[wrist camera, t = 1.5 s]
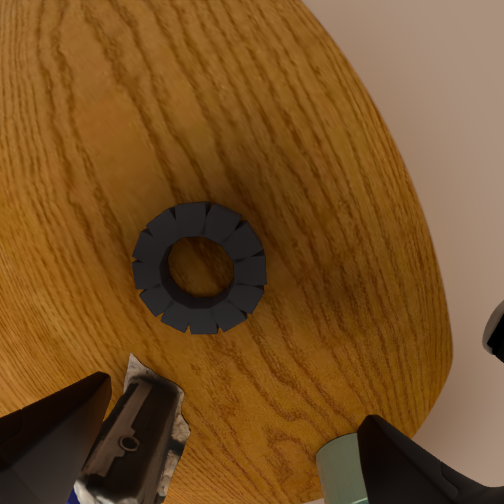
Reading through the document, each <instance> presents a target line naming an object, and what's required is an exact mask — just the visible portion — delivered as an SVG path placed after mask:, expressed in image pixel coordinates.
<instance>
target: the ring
mask: <svg viewBox="0 0 504 504" xmlns="http://www.w3.org/2000/svg"><path fill="white" fill-rule="evenodd" d="M240 218H241V215H240V214H238V213H236V212H234V211H232V210H230V209H228V208H226V207H224V206H222V205H220V204H218V203H215V204H213V205H212V206H211V208H210V202H209V201H205V202H193V203H182V204H179V205H176V206H175V207H171V208H168V209H166V210H165V211H164V212H162V213H161V214H160V215H158V216H157V217H156V218H154V219H153V220H152V221H151V222H149V223H148V224H147V225H146V226H147V229H145V230H143V231H141V233H140V236H139V239H138V241H137V244H136V247H135V249H134V252H133V255H132V257H134V258H136V259H137V260H135V261H134V262H133V263H132V268H133V274H134V280H135V286H136V289H144V290H143V292H142V293H141V294H140V295H139V297H140V298H141V299H142V301H143V302H144V303H145V305H146V306H147V307H148V308H149V310H150V311H151V312H152V314H153V315H154V316H155V317H156V316H158V315H159V314H161V313H163V312H164V313H163V316H162V318H161V322H163V323H165V324H167V325H169V326H171V327H173V328H175V329H177V330H179V331H182V332H184V333H185V331H186V329H187V327H188V325H189V326H190V332H191V334H218V329H219V327H220V328H221V329H222V331H223V332H225V331H227V330H229V329H231V328H232V327H234V326H236V325H238V324H239V323H241V322H243V321H245V320H246V319H247V313H249V314H252V313H253V311H254V309H255V308H256V306H257V304H258V302H259V301H260V299H261V297H262V295H263V294H264V285H266V284H267V282H266V257H265V252H264V249H263V247H262V243H261V241H260V239H259V238H258V236H257V235H256V233H255V232H254V230H253V229H252V227H251V226H250V224H249V223H248V221H247V220H245V221H243V222H242V223H240V224H239V225H238V223H239V221H240ZM196 236H204V237H206V238H208V239H210V240H212V241H214V242H216V243H218V244H220V245H222V247H223V248H224V250H225V251H226V252H227V254H228V255H229V257H230V258H231V260H232V261H233V265H234V278H233V280H232V282H231V284H230V285H229V287H228V289H226V290H224V291H223V292H221V293H220V294H218V295H216V296H215V297H205V298H195V297H193V296H191V295H189V294H187V293H185V292H183V291H181V290H180V289H179V288H178V286H177V285H176V284H175V282H174V281H173V280H172V278H171V277H170V276H169V268H168V261H167V258H168V256H169V253H170V251H171V249H172V246H173V244H174V243H175V242H177V241H178V240H179V239H181V238H182V237H196Z"/></svg>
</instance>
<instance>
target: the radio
mask: <svg viewBox="0 0 504 504" xmlns="http://www.w3.org/2000/svg"><path fill="white" fill-rule="evenodd" d="M183 398H184V392H183V391H182V390H181V389H180V388H179V387H178V386H177V385H176V384H175V383H173V382H171V381H169V380H167V379H164V378H162V377H160V376H158V375H156V374H155V373H154V372H153V371H152V370H151V369H149V368H146V367H144V366H143V365H142V364H141V363H140V362H139V361H138V359H137V358H136V357H134V356H133V355H132V353H131V354H130V359H129V364H128V369H127V373H126V377H125V382H124V392H123V395H122V396H121V397H120V399H119V400H118V402H117V403H116V405H115V407H114V409H113V410H112V412H111V413H110V415H109V416H108V418H107V419H106V420H105V421H104V422H103V423H102V425H101V428H100V430H99V433H98V435H97V437H96V439H95V442H94V444H93V446H92V448H91V450H90V452H89V454H88V456H87V458H86V460H85V462H84V465H83V467H82V469H81V471H80V473H79V476H78V478H77V480H76V482H75V484H74V490H75V493H76V495H77V498H78V500H79V502H80V504H161V503H163V502H164V499H165V496H166V493H167V490H168V487H169V484H170V480H171V477H172V474H173V472H174V470H175V467H176V466H177V464H178V462H179V460H180V458H181V456H182V453H183V450H184V447H185V444H186V442H187V439H188V437H189V434H190V431H189V430H188V428H189V425H188V424H187V423H185V421H184V419H183V417H182V416H181V405H182V402H183Z"/></svg>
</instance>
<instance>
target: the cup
mask: <svg viewBox="0 0 504 504" xmlns="http://www.w3.org/2000/svg"><path fill="white" fill-rule="evenodd" d="M316 465H317V469H318V474H319V478H320V483H321V488H322V492H323V497H324V502H325V504H369V503H368V498H367V493H366V489H365V484H364V480H363V475H362V471H361V465H360V457H359V449H358V441H357V433H352V434H348V435H344V436H341V437H339V438H336V439H334V440H332V441H330V442H329V443H327V444H326V445H324V446H323V447H322V448H321V449H320V450H319V451H318V453H317V454H316Z"/></svg>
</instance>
